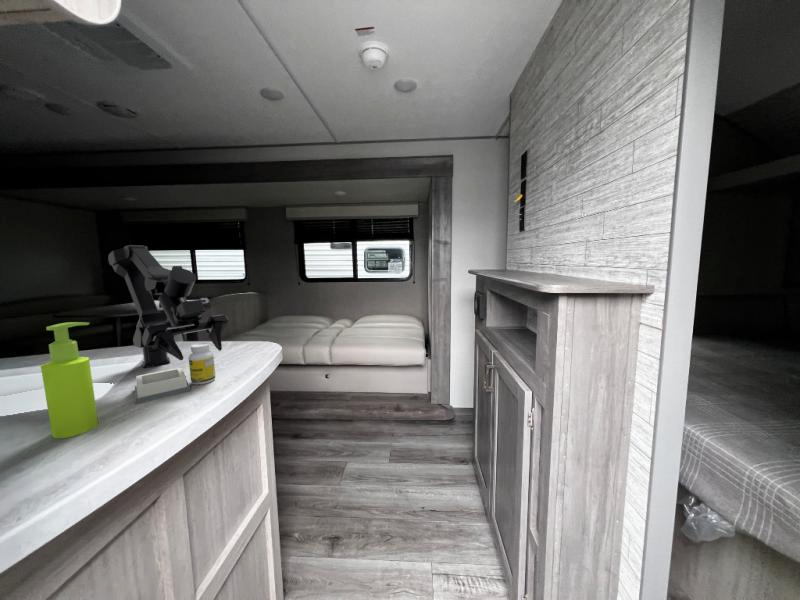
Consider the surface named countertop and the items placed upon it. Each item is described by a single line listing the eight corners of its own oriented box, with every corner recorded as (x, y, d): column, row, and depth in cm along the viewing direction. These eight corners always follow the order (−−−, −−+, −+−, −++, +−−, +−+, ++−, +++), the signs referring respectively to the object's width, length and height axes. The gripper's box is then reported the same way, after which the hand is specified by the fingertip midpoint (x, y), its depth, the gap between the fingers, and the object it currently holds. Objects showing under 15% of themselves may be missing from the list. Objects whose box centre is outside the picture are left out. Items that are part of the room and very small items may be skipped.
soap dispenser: (112, 419, 60) (98, 320, 57) (71, 439, 53) (54, 328, 51) (86, 418, 61) (71, 319, 58) (42, 437, 54) (23, 327, 51)
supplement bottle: (185, 384, 77) (182, 346, 76) (204, 376, 82) (201, 341, 81) (202, 386, 76) (198, 348, 75) (220, 378, 81) (217, 342, 80)
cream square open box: (135, 389, 74) (133, 375, 74) (185, 379, 81) (183, 366, 80) (135, 403, 67) (133, 388, 66) (190, 390, 73) (188, 376, 73)
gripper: (141, 292, 71) (167, 344, 66) (222, 286, 86) (248, 327, 82) (131, 322, 76) (156, 372, 71) (210, 311, 92) (233, 352, 87)
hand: (202, 354), depth 78 cm, fingers open, 9 cm apart
